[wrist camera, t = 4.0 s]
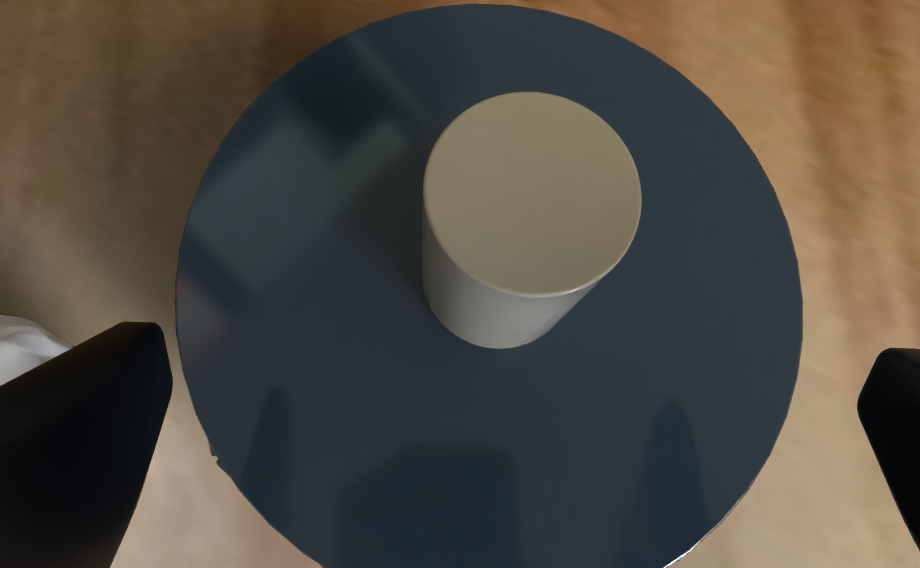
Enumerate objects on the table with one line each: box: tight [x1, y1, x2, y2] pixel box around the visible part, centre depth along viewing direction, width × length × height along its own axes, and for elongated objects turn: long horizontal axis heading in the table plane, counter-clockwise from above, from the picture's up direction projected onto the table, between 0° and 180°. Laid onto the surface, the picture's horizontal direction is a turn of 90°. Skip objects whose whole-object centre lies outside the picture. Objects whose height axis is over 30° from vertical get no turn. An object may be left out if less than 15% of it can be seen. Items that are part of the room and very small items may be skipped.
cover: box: [174, 4, 803, 568], centre depth 13 cm, size 12×12×10 cm
